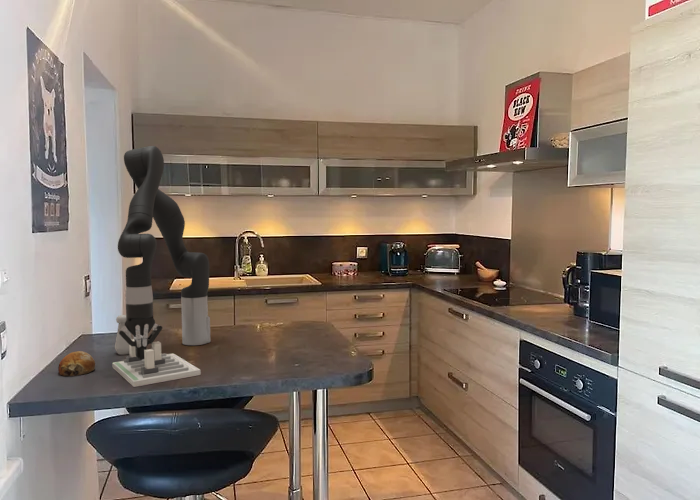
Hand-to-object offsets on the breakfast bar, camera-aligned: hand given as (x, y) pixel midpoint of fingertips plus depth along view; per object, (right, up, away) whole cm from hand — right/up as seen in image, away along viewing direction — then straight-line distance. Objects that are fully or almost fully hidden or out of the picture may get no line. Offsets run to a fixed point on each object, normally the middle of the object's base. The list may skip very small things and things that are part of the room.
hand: (141, 358), depth 166 cm
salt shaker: (-15, -3, +24) cm, 28 cm away
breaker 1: (-5, -2, +6) cm, 8 cm away
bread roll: (-20, -5, +2) cm, 21 cm away
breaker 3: (+4, -3, +3) cm, 5 cm away
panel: (+3, -4, +2) cm, 6 cm away
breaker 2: (+5, -3, -6) cm, 9 cm away
